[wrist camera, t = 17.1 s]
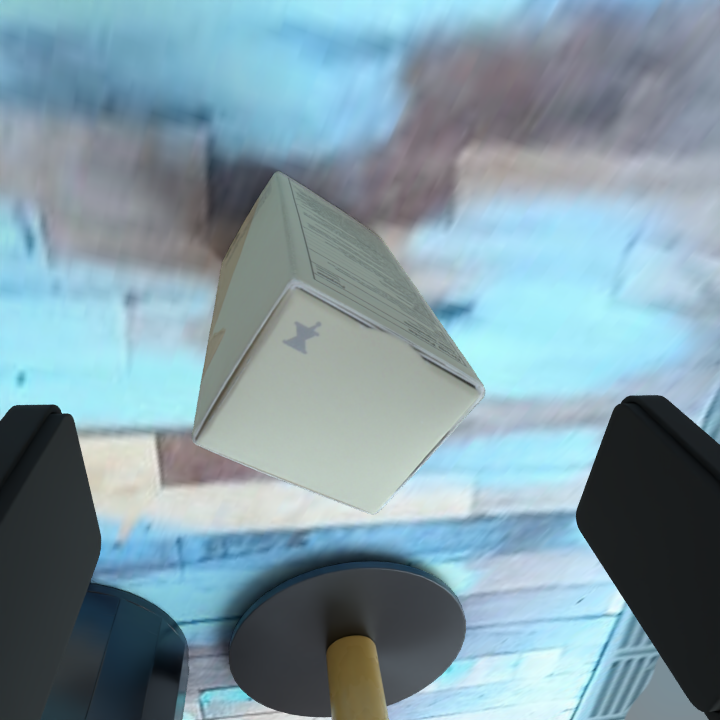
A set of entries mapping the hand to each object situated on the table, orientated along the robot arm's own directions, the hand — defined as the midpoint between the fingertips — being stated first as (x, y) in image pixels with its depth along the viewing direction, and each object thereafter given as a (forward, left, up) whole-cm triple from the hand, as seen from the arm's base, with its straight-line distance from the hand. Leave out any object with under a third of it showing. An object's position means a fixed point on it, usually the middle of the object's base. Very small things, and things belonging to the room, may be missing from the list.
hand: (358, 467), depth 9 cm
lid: (+3, -24, -12) cm, 27 cm away
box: (0, 0, -13) cm, 13 cm away
